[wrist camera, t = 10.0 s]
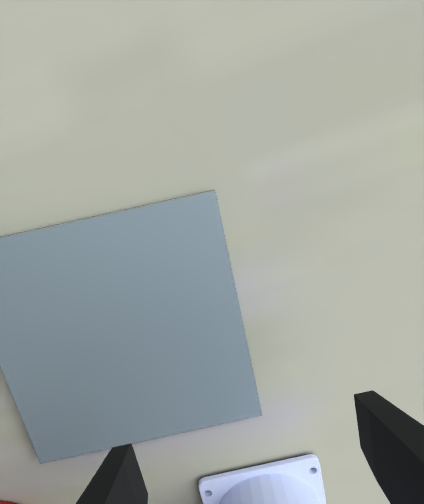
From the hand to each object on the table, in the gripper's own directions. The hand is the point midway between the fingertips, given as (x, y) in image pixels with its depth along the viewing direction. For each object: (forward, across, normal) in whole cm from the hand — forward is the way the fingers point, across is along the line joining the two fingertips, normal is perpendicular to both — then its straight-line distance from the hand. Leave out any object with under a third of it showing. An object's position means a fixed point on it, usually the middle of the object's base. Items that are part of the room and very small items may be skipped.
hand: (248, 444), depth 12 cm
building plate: (+10, +6, 0) cm, 12 cm away
